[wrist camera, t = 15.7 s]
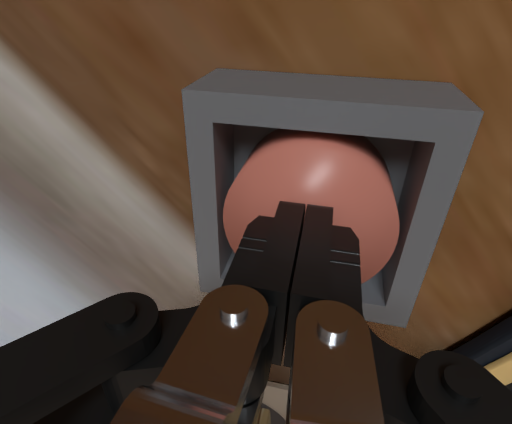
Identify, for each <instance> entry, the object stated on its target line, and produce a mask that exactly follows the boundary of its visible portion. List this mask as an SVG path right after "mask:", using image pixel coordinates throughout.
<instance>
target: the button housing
mask: <svg viewBox="0 0 512 424" xmlns="http://www.w3.org/2000/svg"><path fill="white" fill-rule="evenodd" d="M182 99H183V110H184V121H185V132H186V143H187V154H188V164H189V175H190V186H191V197H192V208H193V219H194V230H195V240H196V251H197V262H198V273H199V284H200V291H202V292H207V293H210V292H211V291H213V290H215V289H217V288H219V287H221V286H222V284H223V281H224V279H225V277H226V274H227V272H228V270H229V267H230V265H231V263H232V260H233V258H234V256H235V253H234V251H233V249H232V248H231V246H230V244H229V242H228V239H227V237H226V233H225V229H224V223H223V208H224V203H225V199H226V196H227V193H228V191H229V189H230V187H231V185H232V184H233V182H234V180H235V178H236V177H237V175H238V173H239V172H240V170H241V168H242V167H243V165H244V163H245V162H246V160H247V158H248V157H249V155H250V154H251V152H252V150H253V149H254V148H255V147H256V145H257V144H258V143H259V142H260V141H261V140H262V139H263V138H264V137H266V136H267V135H268V134H270V133H271V132H273V131H274V130H276V129H278V128H280V129H291V130H302V131H313V132H324V133H335V134H346V135H358V136H364V137H366V138H367V139H368V140H369V141H370V142H371V143H372V144H373V145H374V146H375V147H376V148H377V149H378V151H379V152H380V154H381V155H382V157H383V159H384V161H385V163H386V165H387V168H388V171H389V174H390V178H391V183H392V187H393V192H394V196H395V201H396V205H397V210H398V215H399V236H398V241H397V245H396V247H395V250H394V252H393V254H392V256H391V257H390V259H389V261H388V262H387V263H386V265H385V266H384V267H383V268H382V269H381V270H380V271H379V272H378V273H377V274H376V275H375V276H373V277H372V278H370V279H369V280H368V281H366V282H364V283H362V284H361V288H362V309H363V316H364V319H365V321H370V322H376V323H382V324H387V325H393V326H398V327H404V328H406V326H407V323H408V320H409V317H410V315H411V312H412V309H413V306H414V304H415V301H416V298H417V295H418V293H419V290H420V287H421V284H422V282H423V279H424V276H425V273H426V271H427V268H428V265H429V262H430V259H431V257H432V254H433V251H434V248H435V246H436V243H437V240H438V237H439V235H440V232H441V229H442V226H443V224H444V221H445V218H446V215H447V213H448V210H449V207H450V204H451V202H452V199H453V196H454V193H455V191H456V188H457V185H458V182H459V180H460V177H461V174H462V171H463V169H464V166H465V163H466V160H467V158H468V155H469V152H470V149H471V147H472V144H473V141H474V138H475V135H476V133H477V130H478V127H479V124H480V122H481V119H482V116H483V113H484V111H482V110H481V109H480V108H479V107H478V106H477V105H476V104H475V103H473V102H472V101H471V100H470V99H469V98H468V97H467V96H466V95H465V94H463V93H462V92H461V91H460V90H459V89H458V88H457V87H456V86H455V85H453V84H452V83H445V82H428V81H412V80H396V79H380V78H364V77H348V76H332V75H316V74H300V73H283V72H267V71H251V70H235V69H219V68H217V69H215V70H214V71H212V72H210V73H209V74H207V75H205V76H204V77H202V78H200V79H198V80H197V81H195V82H193V83H192V84H190V85H188V86H187V87H185V88H183V89H182Z"/></svg>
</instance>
